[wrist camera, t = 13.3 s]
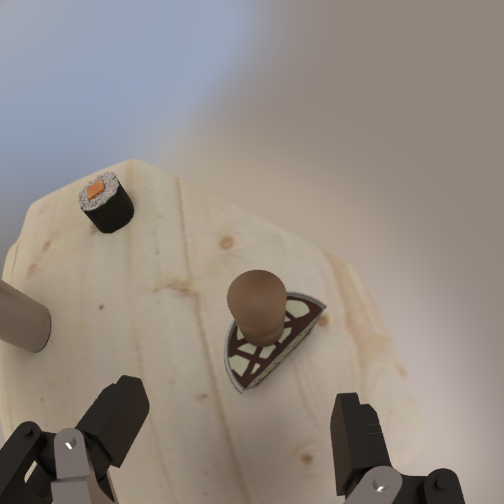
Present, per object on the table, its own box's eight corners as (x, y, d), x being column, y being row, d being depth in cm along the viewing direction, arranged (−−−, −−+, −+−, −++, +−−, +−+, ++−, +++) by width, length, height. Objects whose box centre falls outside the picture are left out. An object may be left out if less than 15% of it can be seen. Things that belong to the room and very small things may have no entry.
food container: (282, 296, 37) (283, 262, 29) (317, 326, 35) (329, 301, 26) (215, 360, 34) (193, 347, 25) (249, 394, 31) (237, 394, 23)
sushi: (139, 217, 47) (120, 188, 40) (101, 240, 45) (78, 215, 38) (129, 190, 50) (112, 162, 43) (94, 211, 49) (74, 186, 42)
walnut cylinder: (239, 345, 25) (223, 323, 18) (243, 305, 27) (230, 268, 20) (282, 348, 24) (285, 326, 17) (284, 307, 26) (287, 270, 19)
